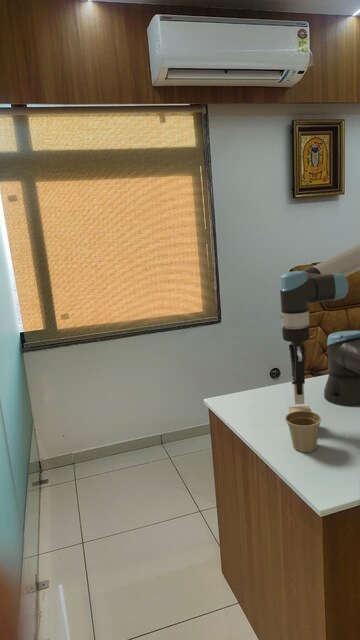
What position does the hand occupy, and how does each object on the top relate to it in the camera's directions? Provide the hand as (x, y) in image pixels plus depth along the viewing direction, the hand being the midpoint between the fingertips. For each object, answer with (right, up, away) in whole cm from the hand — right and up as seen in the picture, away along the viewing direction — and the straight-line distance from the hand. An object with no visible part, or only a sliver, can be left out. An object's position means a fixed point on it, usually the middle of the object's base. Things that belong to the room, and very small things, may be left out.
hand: (299, 403), depth 123 cm
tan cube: (+1, -4, +3) cm, 6 cm away
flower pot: (-1, -10, -9) cm, 14 cm away
